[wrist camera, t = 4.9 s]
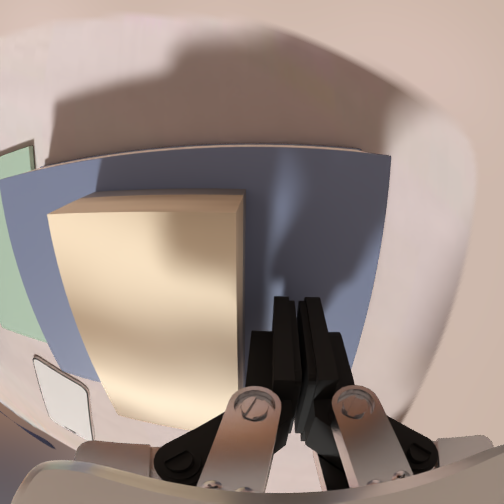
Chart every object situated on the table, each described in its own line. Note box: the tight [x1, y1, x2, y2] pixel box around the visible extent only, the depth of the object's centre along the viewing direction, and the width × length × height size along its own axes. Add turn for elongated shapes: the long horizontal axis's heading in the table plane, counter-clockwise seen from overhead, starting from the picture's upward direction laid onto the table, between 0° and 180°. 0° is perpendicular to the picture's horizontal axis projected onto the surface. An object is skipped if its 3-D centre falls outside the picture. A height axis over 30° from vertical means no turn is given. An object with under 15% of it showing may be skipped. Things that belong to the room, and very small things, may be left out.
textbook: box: [0, 143, 391, 384], centre depth 14 cm, size 13×18×4 cm
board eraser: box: [47, 188, 246, 431], centre depth 10 cm, size 10×6×3 cm, turn 179°
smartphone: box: [33, 356, 95, 441], centre depth 24 cm, size 7×1×15 cm
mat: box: [0, 146, 47, 343], centre depth 16 cm, size 16×12×1 cm
